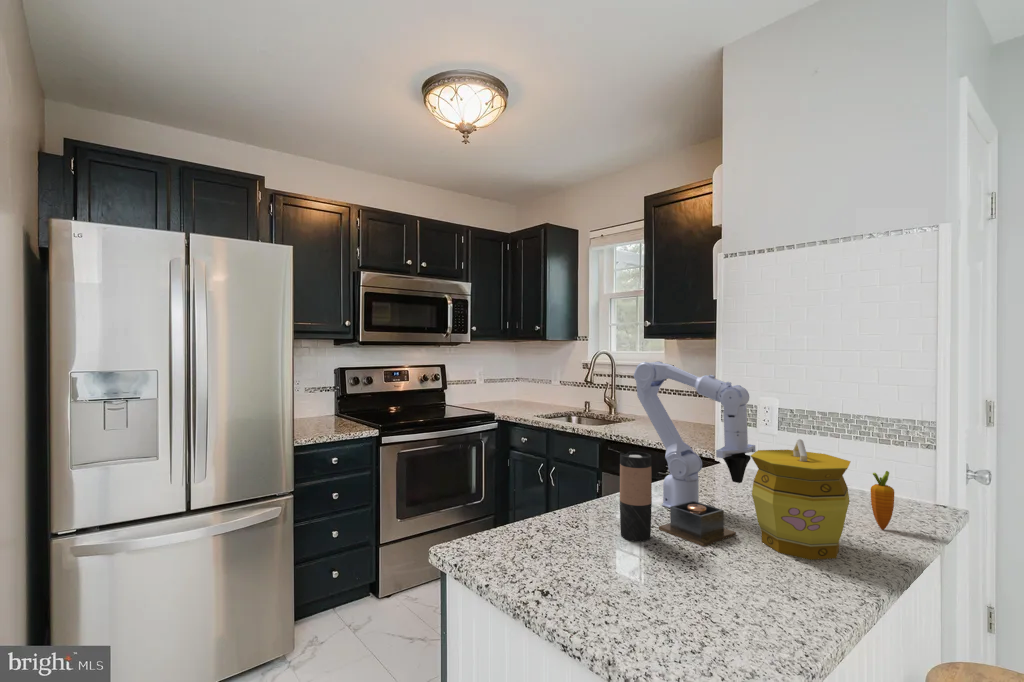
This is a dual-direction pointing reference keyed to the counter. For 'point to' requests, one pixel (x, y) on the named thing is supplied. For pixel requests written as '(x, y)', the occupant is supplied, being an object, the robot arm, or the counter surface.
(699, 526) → the knob box on board
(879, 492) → the carrot
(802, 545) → the container
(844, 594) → the counter surface
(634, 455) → the travel mug
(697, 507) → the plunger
